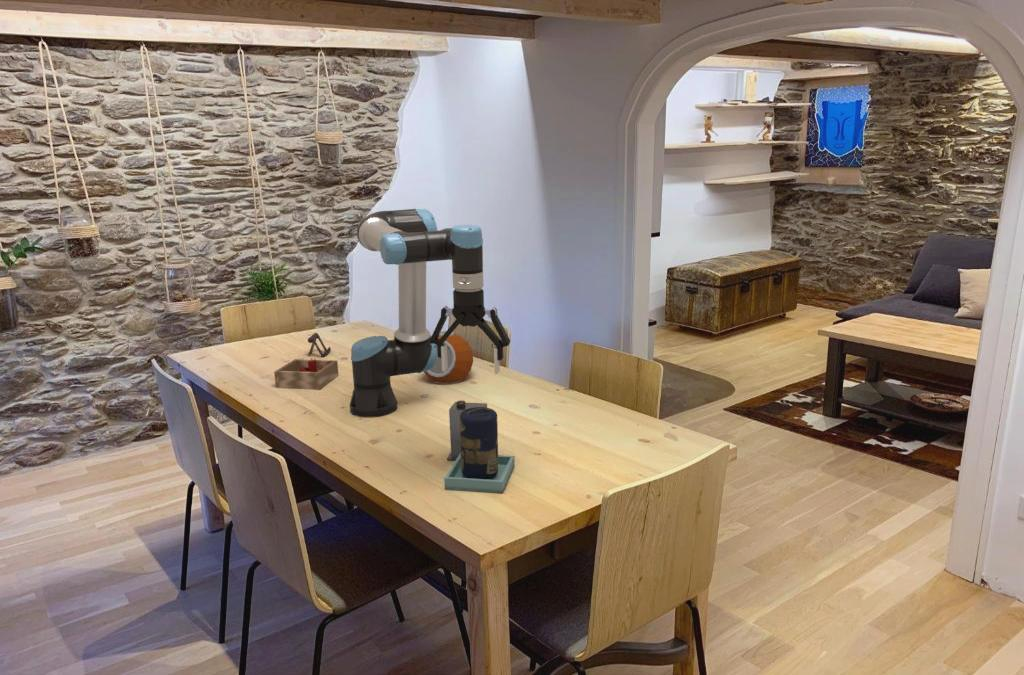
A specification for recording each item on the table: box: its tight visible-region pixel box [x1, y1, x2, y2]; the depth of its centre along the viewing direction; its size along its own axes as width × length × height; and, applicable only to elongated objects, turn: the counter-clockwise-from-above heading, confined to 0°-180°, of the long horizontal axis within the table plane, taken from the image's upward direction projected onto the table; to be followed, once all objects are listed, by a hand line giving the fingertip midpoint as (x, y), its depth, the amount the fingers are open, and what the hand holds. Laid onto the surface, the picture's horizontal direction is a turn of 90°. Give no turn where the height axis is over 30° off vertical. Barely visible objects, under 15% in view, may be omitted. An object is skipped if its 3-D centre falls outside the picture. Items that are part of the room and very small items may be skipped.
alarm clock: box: [424, 330, 474, 385], centre depth 269 cm, size 19×18×17 cm
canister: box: [460, 407, 499, 479], centre depth 187 cm, size 10×10×18 cm
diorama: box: [299, 358, 323, 372], centre depth 272 cm, size 11×12×8 cm
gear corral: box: [274, 358, 340, 390], centre depth 271 cm, size 17×16×6 cm
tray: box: [443, 453, 515, 494], centre depth 189 cm, size 15×16×3 cm
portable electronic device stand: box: [307, 332, 332, 358], centre depth 306 cm, size 9×8×8 cm
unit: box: [446, 400, 488, 462], centre depth 201 cm, size 11×8×16 cm
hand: (470, 371), depth 189 cm, fingers open, 13 cm apart
